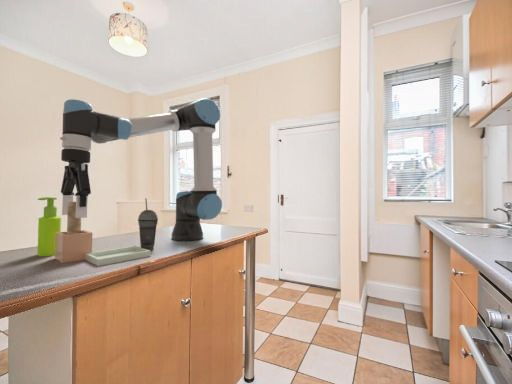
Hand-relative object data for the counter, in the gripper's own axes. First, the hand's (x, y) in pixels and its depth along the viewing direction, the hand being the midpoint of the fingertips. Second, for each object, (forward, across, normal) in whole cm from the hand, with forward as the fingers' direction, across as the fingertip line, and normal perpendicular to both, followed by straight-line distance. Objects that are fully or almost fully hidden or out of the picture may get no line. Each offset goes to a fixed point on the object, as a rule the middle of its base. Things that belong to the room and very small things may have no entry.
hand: (73, 216), depth 80 cm
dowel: (+13, 0, 0) cm, 13 cm away
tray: (+14, +9, +10) cm, 20 cm away
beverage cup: (+14, +1, +24) cm, 28 cm away
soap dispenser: (+14, -12, -4) cm, 19 cm away
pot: (+14, 0, 0) cm, 14 cm away
